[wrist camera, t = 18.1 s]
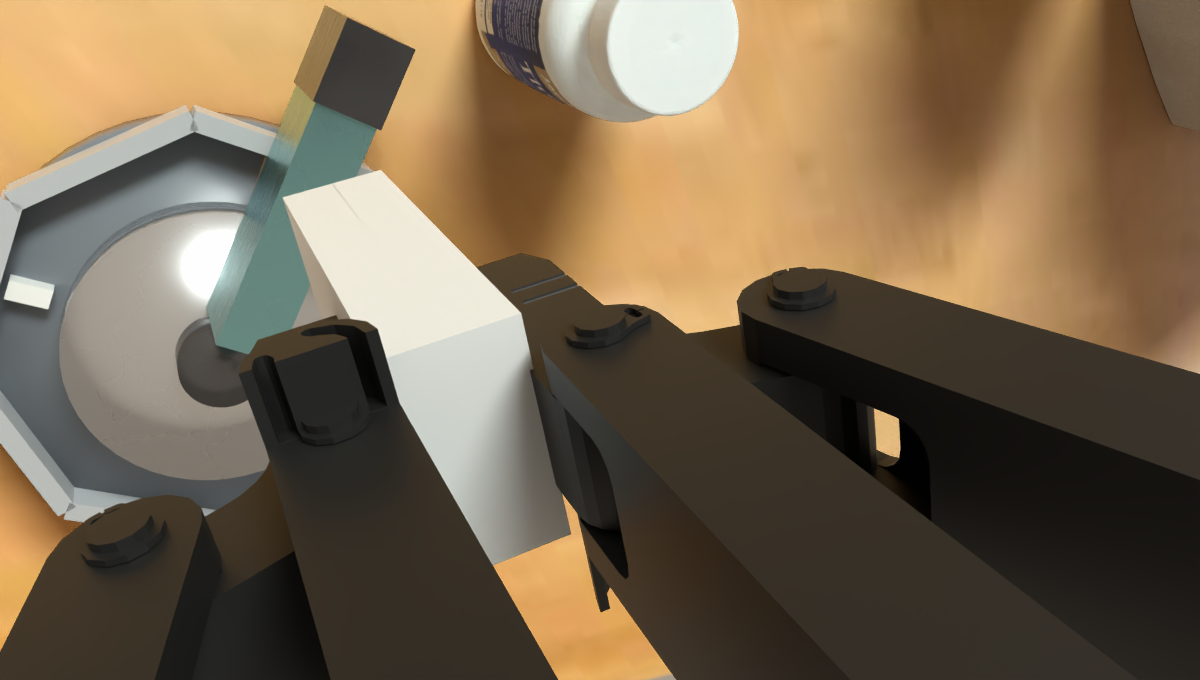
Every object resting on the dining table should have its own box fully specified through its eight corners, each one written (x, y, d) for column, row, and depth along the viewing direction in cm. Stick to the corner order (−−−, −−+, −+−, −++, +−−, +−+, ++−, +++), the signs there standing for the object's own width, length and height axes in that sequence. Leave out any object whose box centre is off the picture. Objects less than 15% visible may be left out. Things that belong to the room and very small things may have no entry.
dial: (295, 486, 38) (319, 557, 34) (18, 422, 33) (8, 495, 29) (475, 76, 35) (523, 101, 31) (200, -55, 30) (215, -46, 26)
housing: (471, 192, 38) (491, 208, 36) (340, 531, 41) (352, 563, 39) (41, 42, 31) (37, 53, 29) (-81, 464, 34) (-92, 499, 32)
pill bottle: (456, 70, 36) (561, 124, 28) (489, -96, 35) (609, -90, 26) (598, 99, 39) (732, 157, 30) (634, -54, 37) (786, -37, 29)
